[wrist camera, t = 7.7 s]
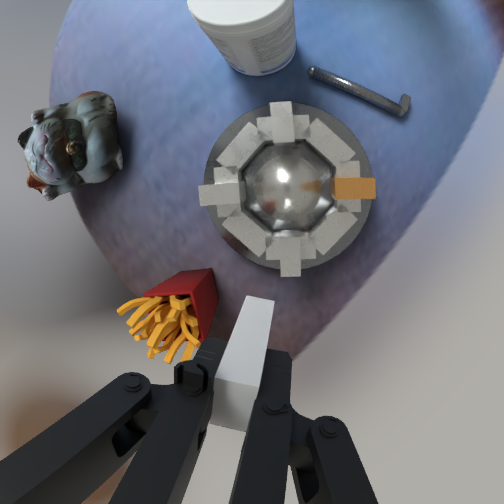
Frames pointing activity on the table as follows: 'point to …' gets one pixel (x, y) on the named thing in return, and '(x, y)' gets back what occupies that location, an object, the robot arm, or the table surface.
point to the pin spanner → (361, 91)
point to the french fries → (175, 313)
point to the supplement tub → (249, 32)
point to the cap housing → (288, 184)
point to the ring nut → (287, 241)
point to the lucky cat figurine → (72, 144)
